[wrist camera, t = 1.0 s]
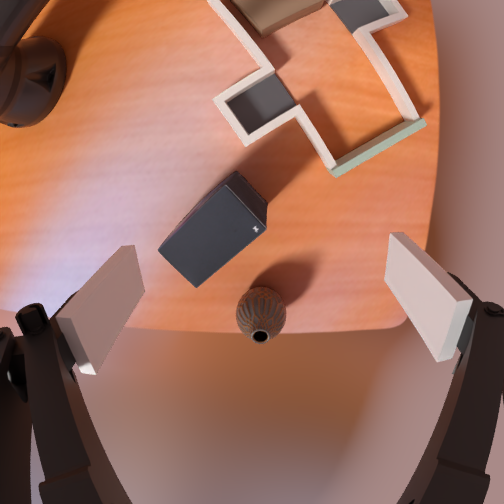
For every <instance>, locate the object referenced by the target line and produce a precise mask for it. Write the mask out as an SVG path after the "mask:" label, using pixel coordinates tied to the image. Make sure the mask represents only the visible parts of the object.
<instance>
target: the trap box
mask: <svg viewBox="0 0 504 504" xmlns="http://www.w3.org/2000/svg"><path fill="white" fill-rule="evenodd" d="M207 1H208V3H209V5H210V6H211V7H212V8H213V9H214V11H215V12H216V13H217V14H218V15H219V16H220V18H221V19H222V20H223V21H224V22H225V24H226V25H227V26H228V27H229V28H230V30H231V31H232V32H233V33H234V35H235V36H236V37H237V38H238V40H239V41H240V42H241V43H242V45H243V46H244V47H245V48H246V50H247V51H248V52H249V54H250V55H251V56H252V58H253V59H254V60H255V62H256V63H257V64H258V66H259V67H260V69H259V70H257V71H255V72H254V73H252V74H250V75H249V76H247V77H246V78H244V79H242V80H241V81H239V82H238V83H236V84H234V85H233V86H231V87H230V88H228V89H227V90H225V91H224V92H222V93H221V94H219V95H218V96H216V97H215V98H213V99H212V100H213V101H214V103H215V104H216V106H217V107H218V108H219V110H220V111H221V113H222V114H223V115H224V117H225V118H226V120H227V121H228V122H229V124H230V125H231V127H232V128H233V130H234V131H235V132H236V134H237V135H238V137H239V138H240V140H241V141H242V143H243V144H244V145H245V147H247V146H248V145H250V144H251V143H253V142H254V141H256V140H258V139H259V138H261V137H262V136H264V135H266V134H267V133H269V132H270V131H272V130H274V129H275V128H277V127H279V126H280V125H282V124H283V123H285V122H287V121H288V120H290V119H292V118H294V117H295V118H296V120H297V121H298V123H299V124H300V126H301V128H302V129H303V131H304V132H305V134H306V135H307V137H308V139H309V140H310V142H311V143H312V145H313V147H314V148H315V150H316V151H317V153H318V155H319V156H320V158H321V160H322V161H323V163H324V165H325V166H326V168H327V170H328V171H329V173H330V174H331V175H333V176H334V177H336V178H337V177H339V176H341V175H342V174H344V173H346V172H348V171H349V170H351V169H353V168H354V167H356V166H358V165H359V164H361V163H363V162H364V161H366V160H368V159H370V158H371V157H373V156H375V155H376V154H378V153H380V152H382V151H383V150H385V149H387V148H388V147H390V146H392V145H394V144H395V143H397V142H399V141H401V140H402V139H404V138H406V137H408V136H409V135H411V134H413V133H415V132H416V131H418V130H420V129H422V128H423V127H425V126H427V124H426V122H425V120H424V118H420V117H419V115H418V113H417V111H416V109H415V107H414V105H413V103H412V101H411V100H410V98H409V96H408V94H407V92H406V90H405V89H404V87H403V85H402V83H401V81H400V80H399V78H398V76H397V75H396V73H395V71H394V70H393V68H392V66H391V65H390V63H389V61H388V60H387V58H386V57H385V55H384V54H383V52H382V50H381V49H380V47H379V46H378V44H377V43H376V41H375V40H374V39H373V37H372V36H371V34H372V33H374V32H377V31H379V30H382V29H384V28H386V27H389V26H391V25H394V24H397V23H399V22H401V21H402V20H404V19H405V18H407V17H408V15H407V13H406V12H405V11H404V9H403V8H402V6H401V5H400V4H399V2H398V1H397V0H325V1H326V2H327V3H328V4H329V6H330V7H331V8H332V9H333V11H334V12H335V13H336V14H337V16H338V17H339V18H340V19H341V21H342V22H343V23H344V25H345V26H346V27H347V29H348V30H349V32H350V33H351V34H352V36H353V37H354V38H355V40H356V41H357V43H358V44H359V46H360V47H361V49H362V50H363V51H364V53H365V54H366V56H367V57H368V59H369V61H370V62H371V64H372V65H373V67H374V68H375V70H376V72H377V73H378V75H379V76H380V78H381V80H382V81H383V83H384V85H385V86H386V88H387V90H388V92H389V93H390V95H391V97H392V99H393V100H394V102H395V104H396V106H397V108H398V110H399V112H400V113H401V115H402V117H403V119H404V122H402V123H400V124H398V125H397V126H395V127H393V128H391V129H390V130H388V131H386V132H384V133H382V134H381V135H379V136H377V137H375V138H374V139H372V140H370V141H368V142H367V143H365V144H363V145H361V146H360V147H358V148H356V149H355V150H353V151H351V152H349V153H348V154H346V155H344V156H343V157H341V158H339V159H337V160H336V161H335V160H334V159H333V157H332V155H331V154H330V152H329V150H328V149H327V147H326V145H325V144H324V142H323V140H322V139H321V137H320V135H319V134H318V132H317V131H316V129H315V127H314V126H313V124H312V123H311V121H310V120H309V118H308V117H307V115H306V113H305V112H304V110H303V109H302V107H301V106H300V104H299V105H296V104H295V102H294V101H293V99H292V98H291V96H290V95H289V93H288V92H287V91H286V89H285V88H284V86H283V85H282V83H281V82H280V81H279V79H278V78H277V76H276V75H275V74H274V73H275V69H274V67H273V66H272V64H271V63H270V62H269V60H268V59H267V58H266V56H265V55H264V54H263V53H262V51H261V50H260V49H259V47H258V46H257V45H256V43H255V42H254V41H253V40H252V38H251V37H250V36H249V35H248V33H247V32H246V31H245V30H244V28H243V27H242V26H241V25H240V24H239V22H238V21H237V20H236V19H235V18H234V16H233V15H232V14H231V13H230V12H229V11H228V9H227V8H226V7H225V6H224V5H223V4H222V3H221V1H220V0H207Z"/></svg>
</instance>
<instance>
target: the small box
mask: <svg viewBox="0 0 504 504" xmlns="http://www.w3.org/2000/svg"><path fill="white" fill-rule="evenodd" d="M267 205H268V202H266V200H264V199H263V198H262V197H261V195H259V194H258V193H257V192H256V190H254V188H253V187H252V186H251V185H250V184H249V183H248V182H247V180H246V179H245V178H244V177H243V176H242V175H240V174H239V172H237V171H236V172H234V173H233V174H231V175H230V176H229V177H228V178H226V179H225V180H224V181H223V182H221V183H220V184H219V185H218V186H217V187H216V188H215V189H214V190H212V191H211V192H210V193H209V194H208V195H207V196H206V197H205V198H204V199H202V200H201V201H200V202H199V203H198V204H197V205H196V206H195V207H194V208H193V209H192V210H191V211H190V212H189V213H188V214H187V215H186V216H185V217H184V218H183V220H182V221H181V222H180V223H179V224H178V225H177V226H176V227H175V229H174V230H173V231H172V232H171V233H170V235H169V236H168V237H167V238H166V239H165V241H164V242H163V243H162V245H161V246H160V247H159V249H158V251H159V252H160V254H161V255H162V256H163V257H164V258H165V259H166V260H167V261H168V262H169V263H170V264H171V265H172V266H173V267H174V268H175V269H176V270H178V271H179V272H180V273H181V274H182V275H183V276H184V277H185V278H186V279H187V280H188V281H189V282H190V283H191V284H192V285H193V286H194V287H195V288H197V287H199V286H200V285H201V284H202V283H203V282H205V281H206V280H207V279H208V278H209V277H211V276H212V275H213V274H214V273H215V272H217V271H218V270H219V269H220V268H221V267H222V266H224V265H225V264H226V263H227V262H229V261H230V260H231V259H232V258H233V257H234V256H236V255H237V254H238V253H239V252H240V251H242V250H243V249H244V248H245V247H246V246H248V245H249V244H250V243H251V242H252V241H254V240H255V239H256V238H257V237H258V236H260V235H261V234H262V233H263V232H264V231H266V228H267V226H266V222H267V220H266V219H267Z"/></svg>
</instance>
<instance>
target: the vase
mask: <svg viewBox="0 0 504 504" xmlns="http://www.w3.org/2000/svg"><path fill="white" fill-rule="evenodd" d="M236 320H237V324H238V326H239V328H240V330H241V331H242V333H243V334H244V335H245V336H247V337H248V338H250V339H252V340H253V341H254V342H255V343H258V344H263V343H266V342H268V341H269V340H270V339H272V338H274V337H275V336H277V335H278V334H279V333H280V331H281V330H282V328H283V326H284V324H285V321H286V308H285V304H284V302H283V300H282V298H281V297H280V295H279V294H278V293H277V292H275V291H274V290H272V289H270V288H266V287H256V288H253V289H251V290H249V291H247V292H246V293H245V294H244V295H243V296H242V297H241V299H240V300H239V302H238V305H237V309H236Z"/></svg>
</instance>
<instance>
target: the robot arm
mask: <svg viewBox="0 0 504 504" xmlns="http://www.w3.org/2000/svg"><path fill="white" fill-rule="evenodd" d="M49 1H50V0H0V123H2V124H5V125H8V126H10V127H14V128H22V127H30V126H33V125H35V124H37V123H39V122H40V121H42V120H43V119H44V118H45V117H46V116H47V115H48V114H49V113H50V112H51V110H52V109H53V107H54V106H55V104H56V102H57V101H58V99H59V97H60V94H61V92H62V89H63V86H64V82H65V77H66V57H65V53H64V51H63V49H62V47H61V45H60V44H59V43H58V42H57V41H55V40H53V39H50V38H47V37H43V36H34V37H30V38H27V39H22V40H21V38H22V37H23V35H24V34H25V32H26V31H27V30H28V28H29V27H30V25H31V24H32V23H33V21H34V20H35V19H36V17H37V16H38V15H39V13H40V12H41V11H42V9H43V8H44V7H45V6H46V4H47V3H48V2H49ZM384 281H385V282H386V284H387V285H388V287H389V288H390V289H391V291H392V292H393V294H394V295H395V297H396V298H397V300H398V301H399V303H400V304H401V306H402V307H403V309H404V310H405V312H406V313H407V315H408V317H409V318H410V320H411V321H412V323H413V324H414V326H415V328H416V329H417V331H418V332H419V334H420V335H421V337H422V339H423V340H424V342H425V344H426V345H427V347H428V349H429V350H430V352H431V354H432V355H433V357H434V359H435V360H436V362H439V361H444V360H448V359H452V357H453V355H454V352H455V350H456V347H458V349H459V350H460V352H461V354H460V357H459V359H458V362H457V364H456V366H455V368H454V371H453V373H452V374H454V376H453V379H452V382H451V386H450V388H449V392H448V394H447V398H446V400H445V403H444V406H443V409H442V411H441V414H440V417H439V419H438V422H437V424H436V427H435V429H434V431H433V434H432V436H431V438H430V441H429V443H428V445H427V448H426V450H425V452H424V454H423V456H422V458H421V460H420V462H419V465H418V466H417V468H416V471H415V472H414V474H413V476H412V478H411V480H410V482H409V484H408V486H407V487H406V489H405V491H404V493H403V494H402V496H401V498H400V499H399V501H398V502H397V504H483V502H484V499H485V496H486V493H487V490H488V487H489V483H490V475H488V474H485V468H486V464H487V461H488V457H489V454H490V450H491V446H492V441H493V437H494V433H495V428H496V423H497V419H498V413H499V407H500V401H501V395H502V394H503V403H504V309H503V308H502V307H501V306H499V305H498V304H495V303H493V302H482V301H481V300H480V299H479V298H478V297H477V296H476V295H475V294H474V293H473V292H472V291H471V290H470V289H468V287H467V286H466V285H465V284H463V282H462V281H461V280H460V279H459V278H458V277H456V276H455V275H453V274H451V273H449V272H446V271H445V270H444V269H442V267H441V266H439V265H438V264H437V263H436V262H435V261H434V260H433V259H432V258H431V257H430V256H429V255H428V254H427V253H426V252H425V251H423V250H422V249H421V248H420V247H419V246H418V245H417V244H416V243H415V242H413V241H412V240H411V239H410V238H409V237H408V236H407V235H406V234H404V233H403V232H393V233H390V238H389V247H388V256H387V264H386V272H385V279H384ZM144 292H145V289H144V285H143V281H142V276H141V272H140V268H139V263H138V259H137V254H136V250H135V245H129V246H121V247H120V248H119V249H118V250H117V251H116V252H115V253H114V254H113V255H112V256H111V257H110V258H109V259H108V260H107V261H106V262H105V263H104V264H103V266H102V267H101V268H100V269H99V270H98V271H97V272H96V273H95V274H94V275H93V276H92V277H91V278H90V279H89V280H88V281H87V282H86V283H85V284H84V286H83V287H82V288H81V289H80V290H79V291H77V292H75V293H74V294H72V295H71V296H70V297H69V298H68V299H67V300H66V301H65V303H64V304H63V305H62V306H61V308H59V309H58V310H57V312H56V313H55V314H54V315H53V316H52V317H51V318H50V320H49V319H48V317H47V314H46V312H45V309H44V307H43V305H42V304H40V303H33V304H30V305H27V306H25V307H23V308H22V309H21V310H19V311H18V313H17V314H16V316H15V318H16V320H17V323H18V325H19V327H20V329H21V331H22V333H23V336H18V337H14V335H13V333H12V331H11V329H10V328H8V327H2V328H0V504H31V485H30V452H31V432H32V424H33V429H34V434H35V439H36V444H37V448H38V452H39V456H40V461H41V465H42V468H43V472H44V475H45V481H44V482H41V483H40V484H39V492H40V496H41V499H42V502H43V504H132V502H131V501H130V499H129V497H128V496H127V494H126V492H125V490H124V488H123V486H122V485H121V483H120V481H119V479H118V477H117V475H116V473H115V471H114V469H113V467H112V465H111V463H110V461H109V459H108V457H107V455H106V453H105V450H104V448H103V446H102V444H101V442H100V439H99V437H98V435H97V432H96V430H95V428H94V425H93V423H92V420H91V418H90V415H89V413H88V410H87V407H86V405H85V402H84V399H83V397H82V393H81V391H80V388H79V385H78V382H77V379H76V375H75V373H74V371H73V369H72V367H73V365H74V364H75V362H76V363H77V365H78V367H79V369H80V371H81V373H86V374H94V375H97V373H98V371H99V369H100V367H101V366H102V364H103V362H104V360H105V358H106V357H107V355H108V353H109V351H110V350H111V348H112V346H113V344H114V342H115V341H116V339H117V337H118V335H119V334H120V332H121V330H122V329H123V327H124V325H125V324H126V322H127V320H128V319H129V317H130V315H131V314H132V312H133V310H134V309H135V307H136V305H137V304H138V302H139V300H140V299H141V297H142V296H143V294H144Z"/></svg>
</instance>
